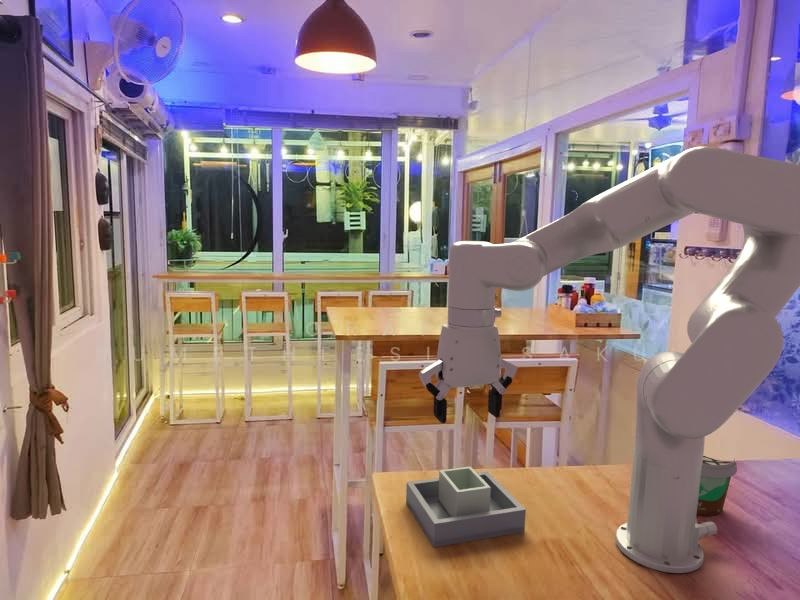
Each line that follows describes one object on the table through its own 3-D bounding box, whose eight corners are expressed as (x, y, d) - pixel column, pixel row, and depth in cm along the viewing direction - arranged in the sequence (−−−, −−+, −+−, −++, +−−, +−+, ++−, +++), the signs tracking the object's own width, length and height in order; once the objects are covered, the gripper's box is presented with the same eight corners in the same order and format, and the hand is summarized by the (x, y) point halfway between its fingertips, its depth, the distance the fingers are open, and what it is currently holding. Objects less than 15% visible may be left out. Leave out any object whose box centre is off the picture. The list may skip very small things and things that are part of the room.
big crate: (486, 491, 105) (487, 471, 105) (524, 531, 92) (525, 509, 91) (406, 502, 100) (406, 482, 100) (433, 547, 87) (434, 523, 87)
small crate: (469, 497, 101) (470, 466, 100) (489, 521, 93) (490, 487, 92) (438, 502, 99) (439, 470, 98) (456, 526, 91) (457, 492, 90)
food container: (654, 509, 100) (659, 456, 98) (656, 494, 105) (661, 444, 104) (734, 528, 94) (740, 472, 93) (732, 511, 100) (738, 458, 98)
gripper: (507, 311, 97) (503, 405, 99) (413, 315, 92) (411, 414, 94) (529, 319, 90) (524, 420, 92) (429, 324, 85) (426, 431, 87)
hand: (467, 417), depth 93 cm, fingers open, 9 cm apart
